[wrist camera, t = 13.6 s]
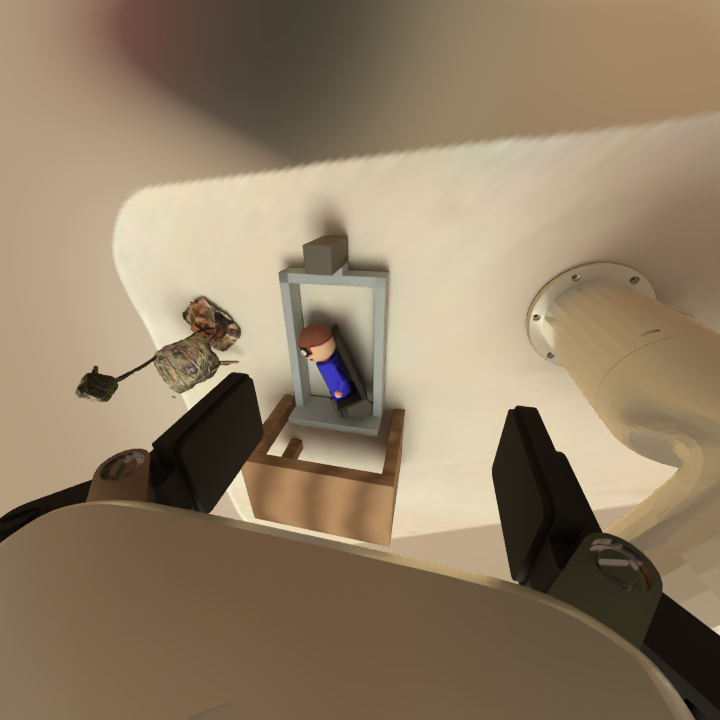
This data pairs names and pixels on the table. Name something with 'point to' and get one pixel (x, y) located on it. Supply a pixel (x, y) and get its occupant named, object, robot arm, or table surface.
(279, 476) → the small wooden table
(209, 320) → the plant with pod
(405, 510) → the table surface
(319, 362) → the character figurine
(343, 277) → the sled
